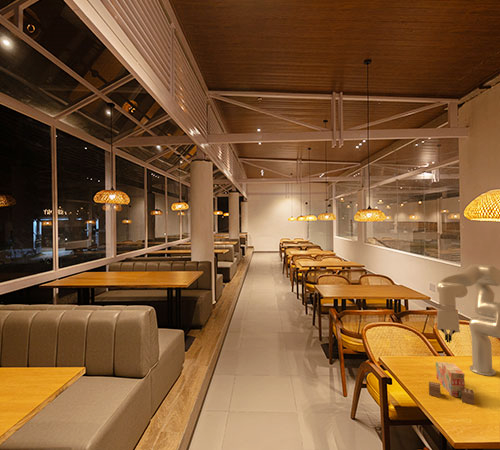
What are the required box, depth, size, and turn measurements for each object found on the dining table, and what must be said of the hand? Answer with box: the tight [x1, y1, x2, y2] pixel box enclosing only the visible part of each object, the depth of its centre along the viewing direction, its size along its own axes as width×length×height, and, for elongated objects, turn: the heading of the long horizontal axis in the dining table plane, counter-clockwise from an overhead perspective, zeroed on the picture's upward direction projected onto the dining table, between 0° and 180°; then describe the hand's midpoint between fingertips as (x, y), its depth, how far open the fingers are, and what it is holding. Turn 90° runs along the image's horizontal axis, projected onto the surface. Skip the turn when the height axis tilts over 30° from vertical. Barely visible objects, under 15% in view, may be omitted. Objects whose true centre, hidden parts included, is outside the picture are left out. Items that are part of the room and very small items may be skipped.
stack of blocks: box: [435, 361, 466, 398], centre depth 171 cm, size 21×6×12 cm, turn 168°
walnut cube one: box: [428, 381, 441, 398], centre depth 164 cm, size 5×5×5 cm
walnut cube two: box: [460, 388, 475, 406], centre depth 157 cm, size 5×5×5 cm
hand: (448, 341), depth 171 cm, fingers closed
